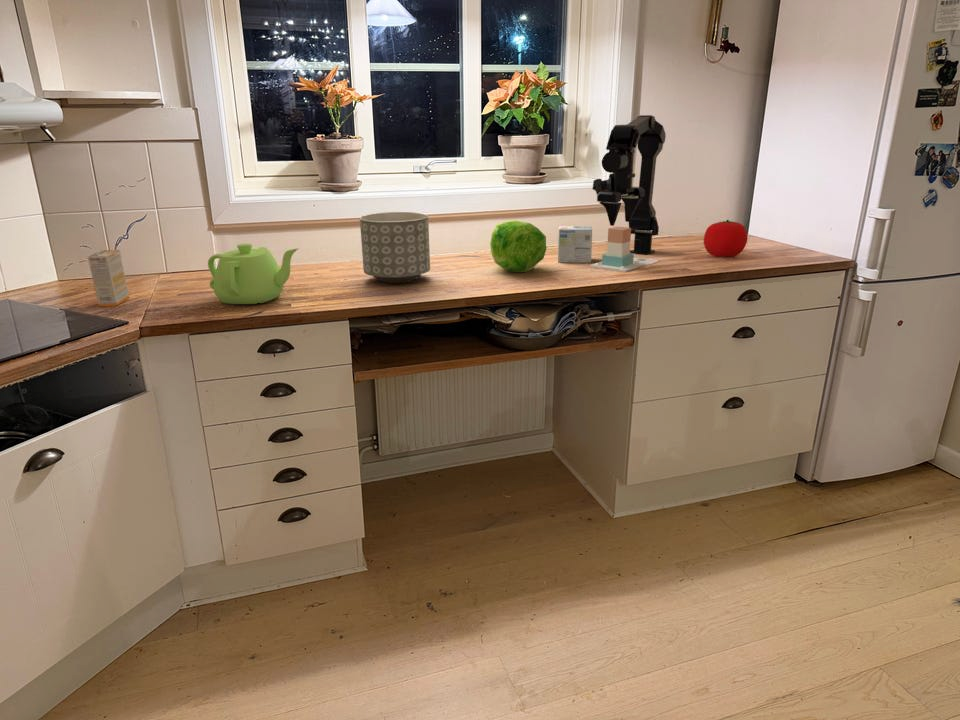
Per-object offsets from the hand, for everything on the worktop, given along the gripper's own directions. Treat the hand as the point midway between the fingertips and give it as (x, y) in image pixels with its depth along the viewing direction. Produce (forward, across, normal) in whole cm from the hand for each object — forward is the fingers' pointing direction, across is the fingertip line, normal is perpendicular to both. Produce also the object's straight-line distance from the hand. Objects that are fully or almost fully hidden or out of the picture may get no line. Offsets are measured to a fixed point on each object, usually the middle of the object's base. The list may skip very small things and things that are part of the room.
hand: (619, 223), depth 205 cm
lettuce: (+13, +23, -22) cm, 34 cm away
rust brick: (+5, 0, 0) cm, 5 cm away
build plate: (+13, 0, 0) cm, 13 cm away
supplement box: (+13, +116, -82) cm, 143 cm away
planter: (+13, +54, -41) cm, 69 cm away
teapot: (+13, +91, -55) cm, 107 cm away
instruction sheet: (+13, -10, +2) cm, 17 cm away
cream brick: (+9, 0, 0) cm, 9 cm away
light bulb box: (+13, +1, -15) cm, 20 cm away
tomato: (+13, -34, +20) cm, 42 cm away
